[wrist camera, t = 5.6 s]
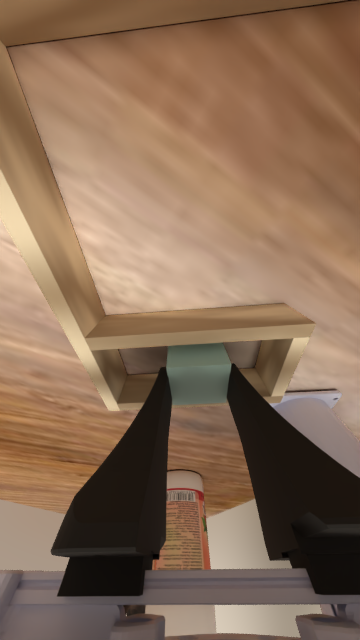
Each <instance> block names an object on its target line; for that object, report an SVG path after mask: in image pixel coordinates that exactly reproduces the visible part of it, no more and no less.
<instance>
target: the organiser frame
mask: <svg viewBox="0 0 360 640" xmlns="http://www.w3.org/2000/svg"><path fill="white" fill-rule="evenodd" d="M339 1H346V0H0V218H1V220H2V222H3V224H4V226H5V227H6V229H7V231H8V233H9V234H10V236H11V238H12V240H13V241H14V243H15V245H16V247H17V249H18V250H19V252H20V254H21V256H22V257H23V259H24V261H25V263H26V265H27V266H28V268H29V270H30V272H31V273H32V275H33V277H34V279H35V280H36V282H37V284H38V286H39V288H40V289H41V291H42V293H43V295H44V296H45V298H46V300H47V302H48V304H49V305H50V307H51V309H52V311H53V312H54V314H55V316H56V318H57V319H58V321H59V323H60V325H61V327H62V328H63V330H64V332H65V334H66V335H67V337H68V339H69V341H70V343H71V344H72V346H73V348H74V350H75V351H76V353H77V355H78V357H79V358H80V360H81V362H82V364H83V366H84V367H85V369H86V371H87V373H88V374H89V376H90V378H91V380H92V382H93V383H94V385H95V387H96V389H97V390H98V392H99V394H100V396H101V397H102V399H103V401H104V403H105V405H106V406H107V408H108V410H109V411H118V410H139V409H141V408H142V406H143V404H144V402H145V401H146V399H147V397H148V395H149V393H150V391H151V389H152V387H153V385H154V383H155V381H156V378H157V376H158V373H157V374H138V375H127V372H126V369H125V367H124V364H123V361H122V359H121V356H120V353H119V351H118V349H125V348H141V347H157V346H174V345H190V344H207V343H223V342H239V341H256V340H262V342H261V346H260V350H259V354H258V358H257V362H256V366H255V368H248V369H239V370H240V372H241V373H242V374H243V375H244V377H245V378H246V379H247V380H248V381H249V383H250V384H251V385H252V386H253V387H254V388H255V389H256V390H257V392H258V393H259V394H260V395H261V396H262V397H263V398H264V399H265V400H266V401H267V402H268V403H280V402H281V400H282V398H283V396H284V393H285V391H286V389H287V387H288V385H289V382H290V380H291V378H292V376H293V374H294V371H295V369H296V367H297V365H298V363H299V360H300V358H301V356H302V354H303V352H304V349H305V347H306V345H307V343H308V341H309V338H310V336H311V334H312V332H313V330H314V327H315V325H316V323H315V322H313V321H312V320H310V319H308V318H307V317H305V316H304V315H302V314H301V313H299V312H297V311H296V310H294V309H293V308H291V307H289V306H288V305H286V304H285V303H281V304H267V305H252V306H238V307H223V308H209V309H194V310H180V311H165V312H151V313H136V314H122V315H107V316H106V315H105V313H104V310H103V307H102V305H101V302H100V299H99V297H98V294H97V291H96V289H95V286H94V283H93V280H92V278H91V275H90V272H89V270H88V267H87V264H86V262H85V259H84V256H83V253H82V251H81V248H80V245H79V243H78V240H77V237H76V235H75V232H74V229H73V227H72V224H71V221H70V218H69V216H68V213H67V210H66V208H65V205H64V202H63V200H62V197H61V194H60V191H59V189H58V186H57V183H56V181H55V178H54V175H53V173H52V170H51V167H50V165H49V162H48V159H47V156H46V154H45V151H44V148H43V146H42V143H41V140H40V138H39V135H38V132H37V129H36V127H35V124H34V121H33V119H32V116H31V113H30V111H29V108H28V105H27V103H26V100H25V97H24V94H23V92H22V89H21V86H20V84H19V81H18V78H17V76H16V73H15V70H14V67H13V65H12V62H11V59H10V57H9V54H8V51H7V49H6V46H13V45H20V44H27V43H35V42H42V41H50V40H57V39H64V38H72V37H79V36H87V35H94V34H101V33H109V32H116V31H124V30H131V29H139V28H146V27H153V26H161V25H168V24H176V23H183V22H190V21H198V20H205V19H213V18H220V17H228V16H235V15H242V14H250V13H257V12H265V11H272V10H279V9H287V8H294V7H302V6H309V5H316V4H324V3H331V2H339ZM225 405H229V403H228V400H226V403H210V404H189V405H173V404H172V408H182V407H204V406H225Z"/></svg>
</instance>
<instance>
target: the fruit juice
mask: <svg viewBox="0 0 360 640" xmlns="http://www.w3.org/2000/svg"><path fill="white" fill-rule="evenodd" d="M210 569H211V568H210V558H209V547H208V536H207V525H206V514H205V503H204V493H203V484H202V479H201V476H200V475H199V474H197V473H195V472H191V471H183V470H177V471H169V472H167V504H166V542H165V543H164V545H163V547H162V549H161V550H160V558H159V560H153V565H152V570H210ZM145 614H155V615H163V616H164V617H165V637H166V636H180V635H194V634H216V622H215V608H214V605H146V607H145Z"/></svg>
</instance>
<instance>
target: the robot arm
mask: <svg viewBox="0 0 360 640" xmlns="http://www.w3.org/2000/svg"><path fill="white" fill-rule="evenodd" d="M231 364H232V365H231V372H230V375H229V383H228V390H227V400H228V403H229V406H230V409H231V412H232V415H233V418H234V421H235V423H236V426H237V429H238V432H239V435H240V439H241V442H242V446H243V450H244V454H245V458H246V462H247V466H248V470H249V474H250V478H251V482H252V487H253V491H254V495H255V499H256V504H257V508H258V513H259V518H260V521H261V527H262V531H263V536H264V541H265V545H266V548H267V552H268V556H269V559H270V560H290V563H291V565H292V568H293V569H217V570H215V569H213V570H212V569H210V570H152V565H153V560H159V558H160V550H161V549H162V547H163V545H164V543H165V542H166V504H167V458H168V436H169V426H170V417H171V408H172V395H171V389H170V383H169V377H168V375H167V370H166V367H161V368H160V371H159V373H158V376H157V378H156V381H155V383H154V385H153V387H152V389H151V391H150V393H149V395H148V397H147V399H146V401H145V402H144V404H143V406H142V408H141V410H140V411H139V413H138V415H137V416H136V418H135V419H134V421H133V422H132V424H131V426H130V427H129V428H128V430H127V431H126V433H125V434H124V436H123V437H122V439H121V440H120V441H119V443H118V444H117V445H116V447H115V448H114V449H113V451H112V452H111V453H110V454H109V456H108V457H107V458H106V459H105V461H104V462H103V463H102V465H101V466H100V467H99V468H98V469H97V471H96V472H95V473H94V474H93V475H92V476H91V478H90V479H89V480H88V481H87V482H86V484H85V485H84V486H83V487H82V488H81V489H80V491H79V492H78V493H77V494H76V495H75V497H74V499H73V501H72V503H71V505H70V507H69V509H68V511H67V513H66V515H65V517H64V520H63V522H62V525H61V527H60V530H59V532H58V534H57V537H56V539H55V542H54V544H53V547H52V549H51V554H52V555H56V556H63V557H70V559H69V562H68V565H67V568H66V571H22V570H0V640H360V441H359V440H358V439H357V438H356V437H355V435H354V434H353V433H352V432H351V431H350V430H349V429H348V428H347V426H346V425H345V424H344V423H343V422H342V421H341V420H340V418H339V417H338V416H337V415H336V414H335V413H334V412H333V410H332V408H333V407H334V405H335V404H336V403H337V401H338V400H339V399H340V398H341V396H342V393H341V392H340V391H337V390H334V391H313V392H293V393H284V396H283V398H282V400H281V402H280V403H268V402H267V401H266V400H265V399H264V398H263V397H262V396H261V395H260V394H259V393H258V392H257V390H256V389H255V388H254V387H253V386H252V385H251V384H250V383H249V381H248V380H247V379H246V378H245V377H244V375H243V374H242V373H241V372H240V370H239V369H238V368H237V367H236V365H235V364H234V363H231ZM232 604H233V605H236V604H237V605H246V604H247V605H254V604H255V605H257V604H320V607H321V610H322V614H308V615H300V616H296V623H297V626H298V630H299V633H300V636H301V638H298V637H283V636H270V635H256V634H233V633H231V634H230V633H229V634H228V633H221V634H220V633H217V634H194V635H180V636H166V637H165V617H164V616H163V615H155V614H135V615H130V616H127V617H126V616H125V609H124V606H123V605H232Z"/></svg>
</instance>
